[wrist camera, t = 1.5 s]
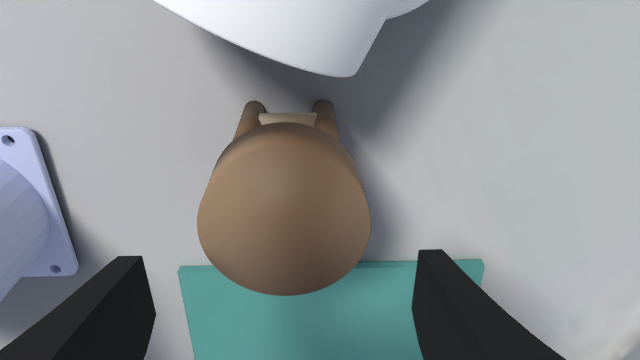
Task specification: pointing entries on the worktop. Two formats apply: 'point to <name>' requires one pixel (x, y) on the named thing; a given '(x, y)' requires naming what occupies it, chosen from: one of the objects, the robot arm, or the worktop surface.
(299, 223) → the walnut stool
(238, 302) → the teal mat
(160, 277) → the worktop surface
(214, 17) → the mug
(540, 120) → the worktop surface
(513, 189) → the worktop surface
